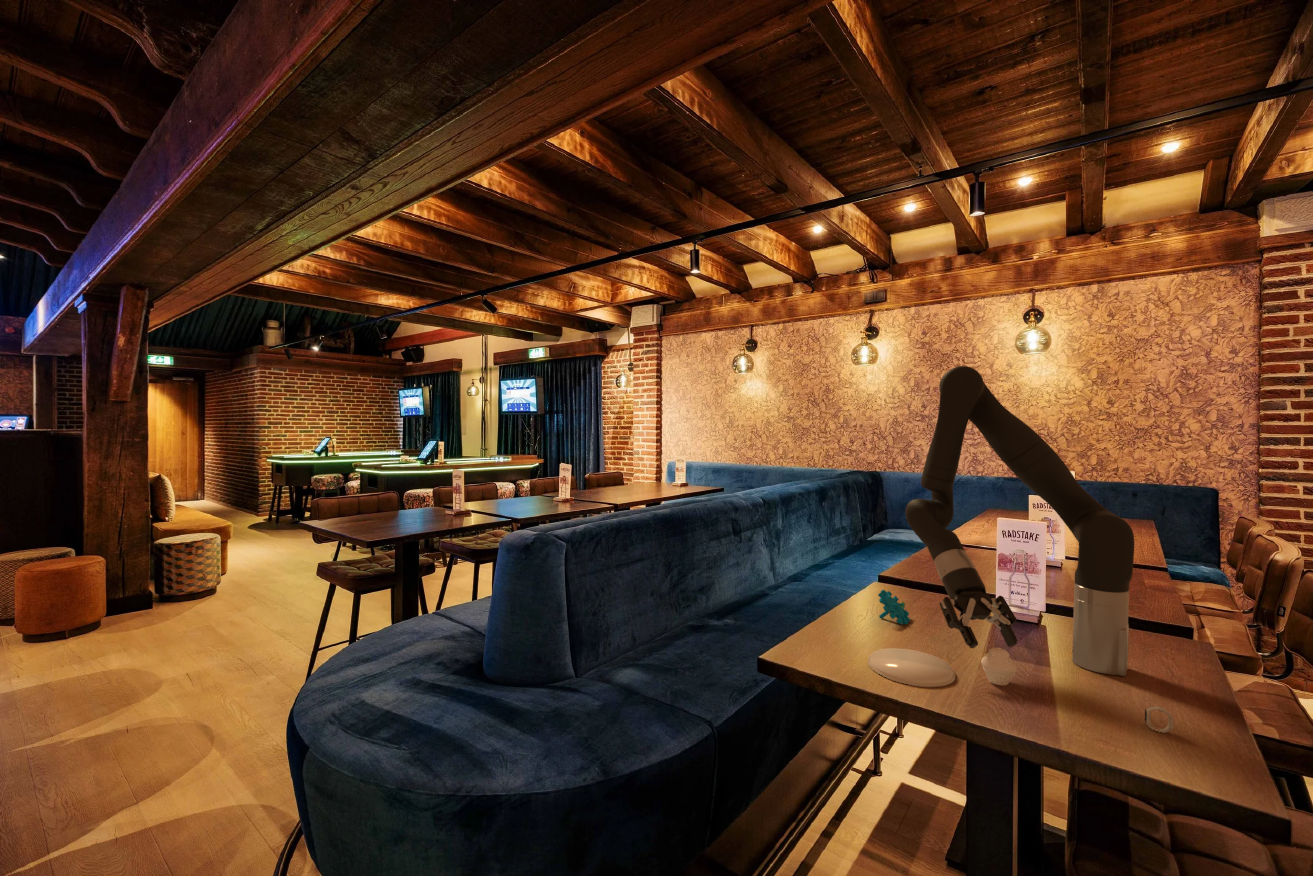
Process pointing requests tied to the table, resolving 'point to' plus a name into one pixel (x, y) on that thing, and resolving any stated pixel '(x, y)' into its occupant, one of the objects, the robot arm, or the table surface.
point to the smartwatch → (1148, 710)
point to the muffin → (998, 666)
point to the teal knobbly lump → (893, 607)
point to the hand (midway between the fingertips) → (993, 646)
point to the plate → (911, 667)
